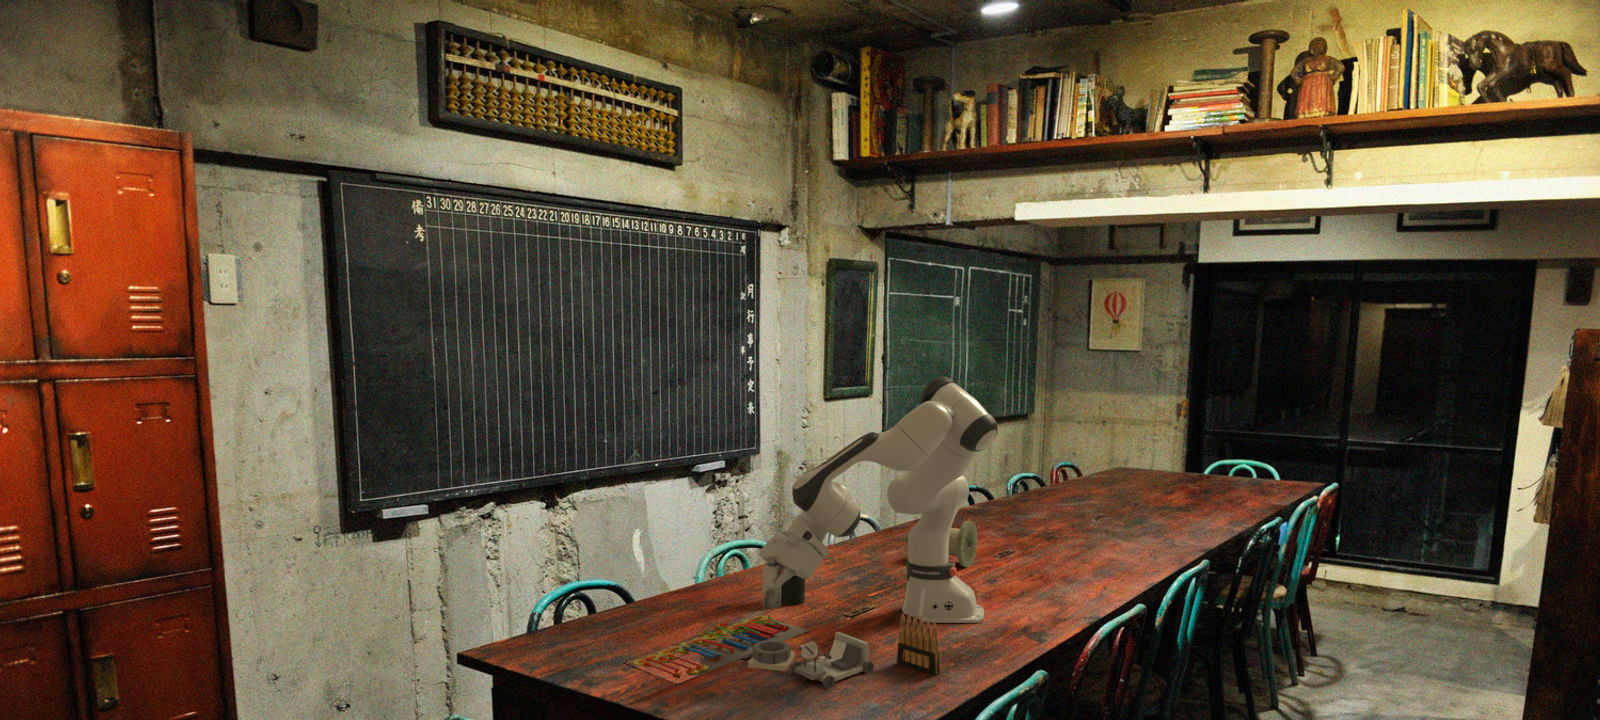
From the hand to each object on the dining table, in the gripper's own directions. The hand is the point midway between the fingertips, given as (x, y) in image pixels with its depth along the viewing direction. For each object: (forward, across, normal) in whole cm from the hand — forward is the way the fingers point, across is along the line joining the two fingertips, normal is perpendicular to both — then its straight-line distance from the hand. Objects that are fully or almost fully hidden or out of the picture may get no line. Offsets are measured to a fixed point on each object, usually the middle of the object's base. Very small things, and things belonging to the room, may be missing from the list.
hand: (770, 582), depth 207 cm
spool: (-52, -36, +76) cm, 99 cm away
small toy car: (+10, +21, +14) cm, 27 cm away
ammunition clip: (-4, +29, +28) cm, 41 cm away
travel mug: (-5, -28, +29) cm, 40 cm away
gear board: (+19, -8, +5) cm, 21 cm away
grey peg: (+4, 0, +5) cm, 6 cm away
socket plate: (+14, +8, +9) cm, 19 cm away
